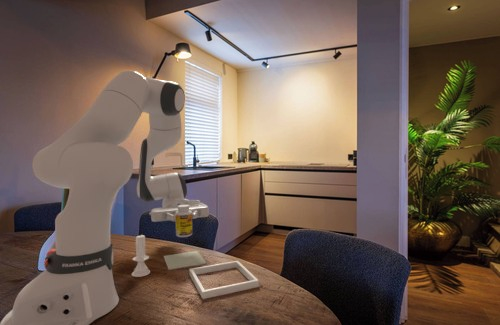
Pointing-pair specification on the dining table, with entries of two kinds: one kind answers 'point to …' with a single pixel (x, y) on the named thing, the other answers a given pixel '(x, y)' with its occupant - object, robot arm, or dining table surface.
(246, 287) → the white square frame
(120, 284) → the dining table surface
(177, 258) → the mat
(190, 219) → the supplement bottle
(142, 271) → the candle
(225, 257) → the dining table surface
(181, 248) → the dining table surface
